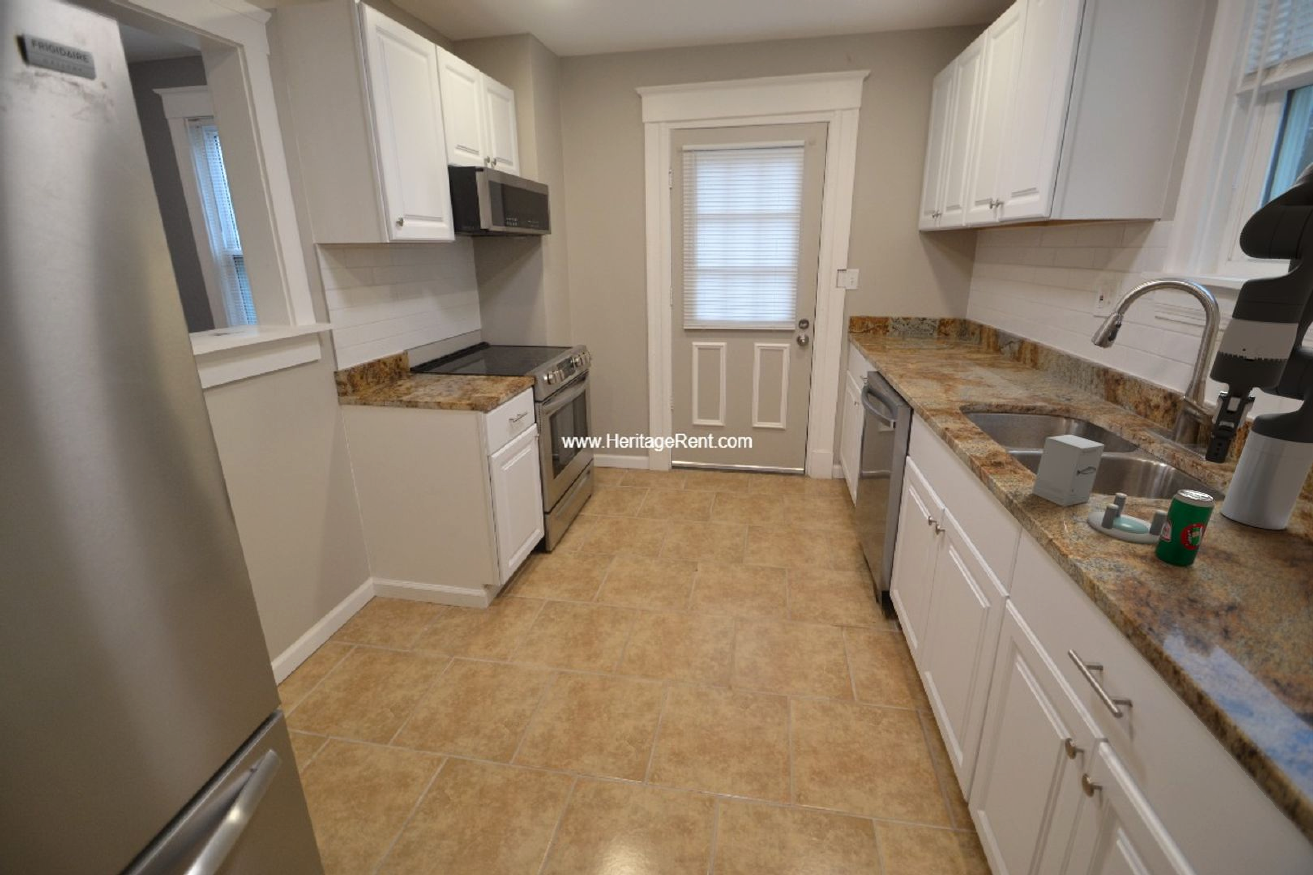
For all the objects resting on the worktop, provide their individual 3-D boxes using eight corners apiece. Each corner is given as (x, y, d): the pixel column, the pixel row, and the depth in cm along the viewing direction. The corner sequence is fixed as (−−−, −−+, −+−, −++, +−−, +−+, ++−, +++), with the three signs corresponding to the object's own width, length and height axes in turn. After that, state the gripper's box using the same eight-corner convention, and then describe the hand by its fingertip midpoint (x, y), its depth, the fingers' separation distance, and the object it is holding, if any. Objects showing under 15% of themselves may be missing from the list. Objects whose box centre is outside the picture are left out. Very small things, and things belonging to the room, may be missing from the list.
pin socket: (1095, 510, 116) (1102, 486, 114) (1166, 530, 109) (1175, 505, 107) (1081, 527, 109) (1088, 502, 107) (1156, 549, 101) (1165, 523, 100)
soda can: (1153, 549, 101) (1174, 485, 98) (1191, 559, 98) (1215, 494, 95) (1153, 561, 98) (1175, 495, 94) (1193, 572, 95) (1217, 504, 91)
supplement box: (1065, 507, 117) (1081, 448, 113) (1030, 493, 124) (1044, 436, 119) (1089, 502, 120) (1106, 444, 116) (1054, 488, 126) (1069, 433, 122)
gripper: (1222, 343, 93) (1190, 439, 99) (1214, 353, 84) (1178, 459, 89) (1290, 350, 88) (1252, 451, 93) (1288, 361, 79) (1246, 473, 84)
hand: (1216, 455), depth 91 cm, fingers open, 8 cm apart
